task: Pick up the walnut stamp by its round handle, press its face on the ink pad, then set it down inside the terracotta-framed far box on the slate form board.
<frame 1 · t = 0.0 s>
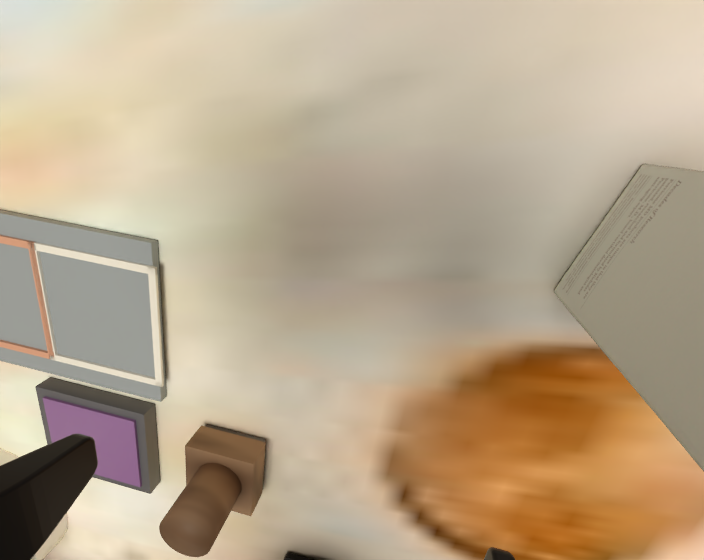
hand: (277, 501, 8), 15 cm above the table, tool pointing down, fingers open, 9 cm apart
board: (53, 300, 27), on the table
stamp: (235, 454, 29), on the table
supplement box: (657, 261, 19), on the table
ink pad: (106, 430, 31), on the table
honey pot: (11, 495, 37), on the table
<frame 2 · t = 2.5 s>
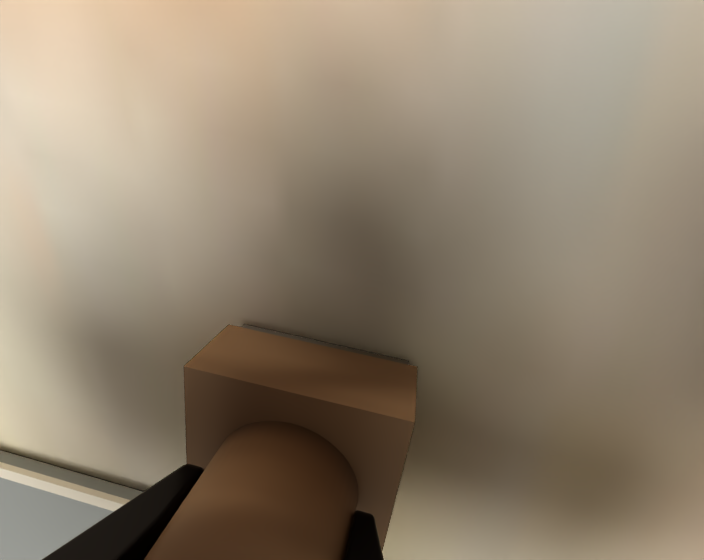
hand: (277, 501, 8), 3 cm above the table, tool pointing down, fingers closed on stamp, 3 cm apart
stamp: (315, 409, 11), on the table, touching gripper
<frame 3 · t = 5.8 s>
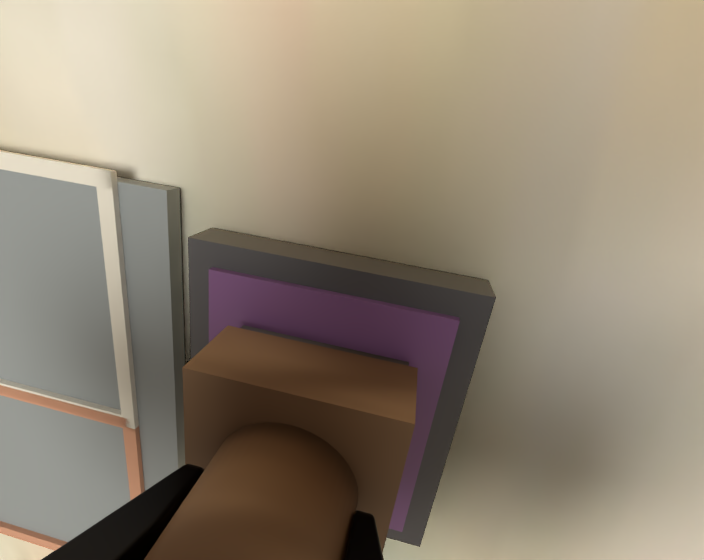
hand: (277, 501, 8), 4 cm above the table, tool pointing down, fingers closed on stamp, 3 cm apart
board: (44, 382, 15), on the table
stamp: (315, 411, 11), point 1 cm above the table, touching gripper, ink pad
ink pad: (325, 383, 12), on the table
when the fingers open (4 cm above the table, at t = 9.2 s): stamp stays where it is, resting on board.
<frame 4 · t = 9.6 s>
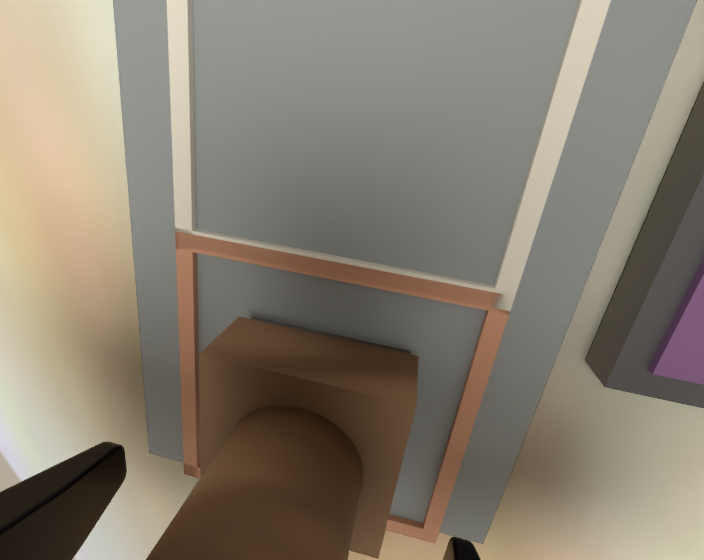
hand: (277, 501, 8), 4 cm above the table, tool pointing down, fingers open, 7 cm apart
board: (341, 260, 11), on the table
stamp: (320, 398, 12), point 1 cm above the table, touching board
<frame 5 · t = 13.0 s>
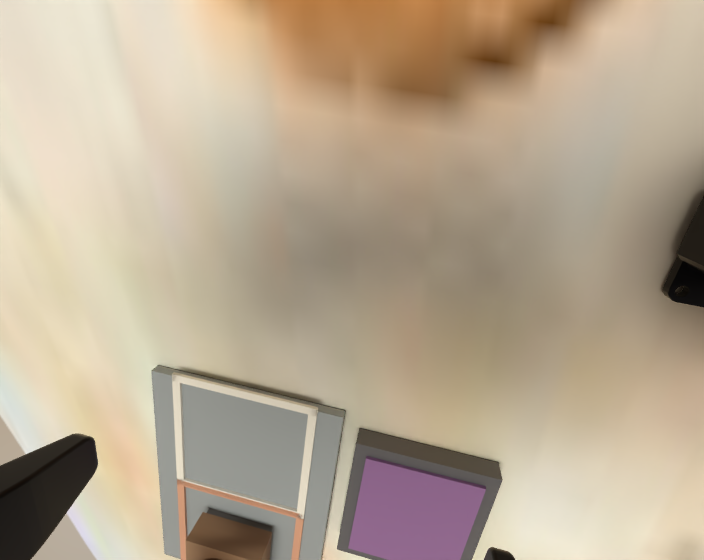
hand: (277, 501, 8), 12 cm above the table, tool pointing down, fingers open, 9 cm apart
board: (244, 488, 26), on the table
stamp: (239, 539, 27), point 1 cm above the table, touching board
ink pad: (412, 500, 23), on the table
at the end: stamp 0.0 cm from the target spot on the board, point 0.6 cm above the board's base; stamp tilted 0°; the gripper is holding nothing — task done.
